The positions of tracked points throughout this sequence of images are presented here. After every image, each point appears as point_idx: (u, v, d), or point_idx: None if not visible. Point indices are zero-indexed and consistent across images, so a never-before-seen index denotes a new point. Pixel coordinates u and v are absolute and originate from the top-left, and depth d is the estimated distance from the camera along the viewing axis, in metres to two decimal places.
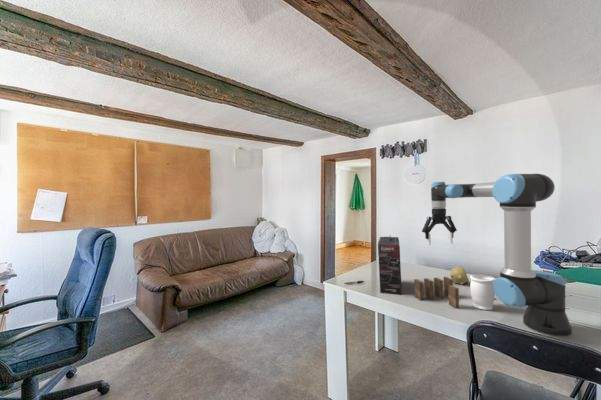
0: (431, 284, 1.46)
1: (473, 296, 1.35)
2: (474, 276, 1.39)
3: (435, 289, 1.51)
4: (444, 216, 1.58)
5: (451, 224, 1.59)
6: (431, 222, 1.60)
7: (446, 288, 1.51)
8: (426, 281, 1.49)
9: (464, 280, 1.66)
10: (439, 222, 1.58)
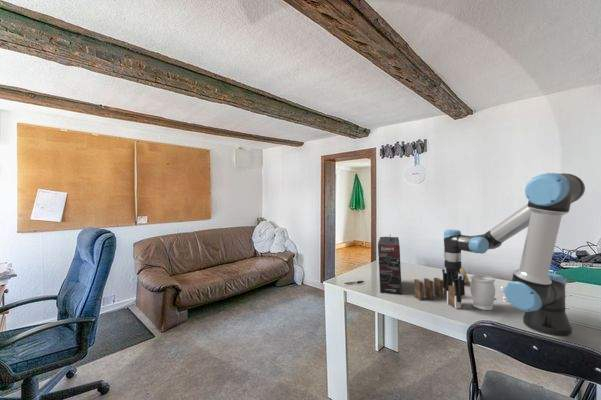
0: (431, 284, 1.46)
1: (473, 296, 1.35)
2: (474, 276, 1.39)
3: (435, 289, 1.51)
4: (455, 271, 1.33)
5: None
6: None
7: None
8: (426, 281, 1.49)
9: (464, 280, 1.66)
10: (450, 276, 1.37)
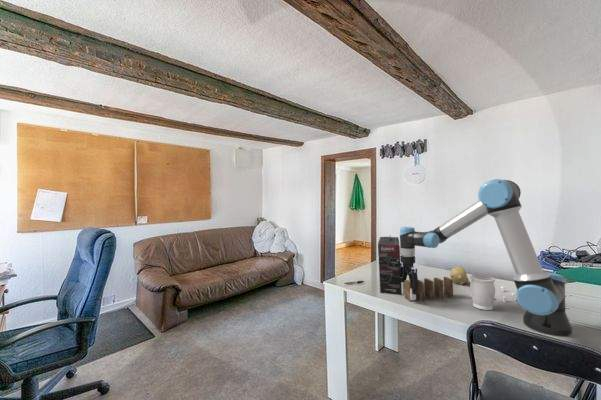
0: (431, 284, 1.46)
1: (473, 296, 1.35)
2: (474, 276, 1.39)
3: (435, 289, 1.51)
4: (409, 265, 1.44)
5: None
6: None
7: (446, 288, 1.51)
8: (426, 281, 1.49)
9: (464, 280, 1.66)
10: (405, 270, 1.47)
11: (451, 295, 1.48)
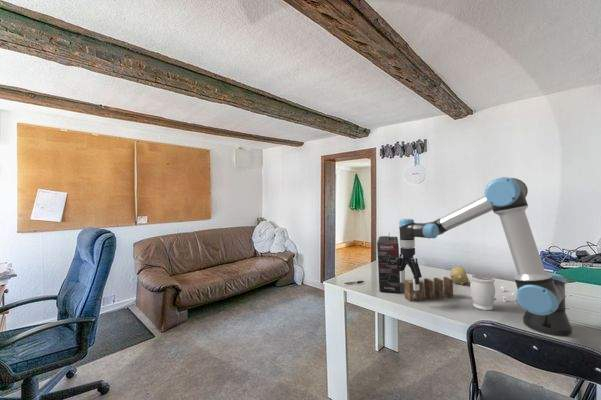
0: (431, 284, 1.46)
1: (473, 296, 1.35)
2: (474, 276, 1.39)
3: (435, 289, 1.51)
4: (408, 257, 1.44)
5: (414, 268, 1.40)
6: None
7: (446, 288, 1.51)
8: (426, 281, 1.49)
9: (464, 280, 1.66)
10: (406, 262, 1.47)
11: (451, 295, 1.48)
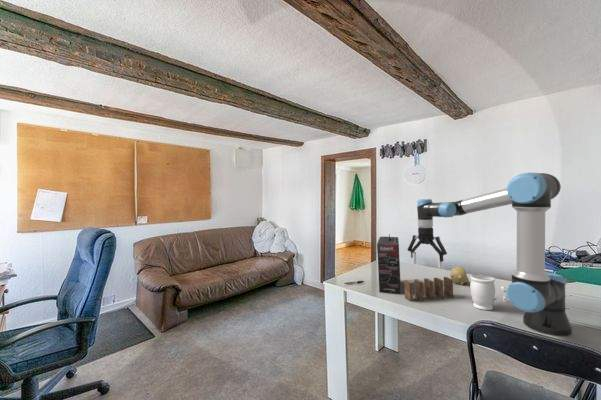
0: (431, 284, 1.46)
1: (473, 296, 1.35)
2: (474, 276, 1.39)
3: (435, 289, 1.51)
4: (430, 236, 1.45)
5: (439, 246, 1.42)
6: None
7: (446, 288, 1.51)
8: (426, 281, 1.49)
9: (464, 280, 1.66)
10: (424, 242, 1.48)
11: (451, 295, 1.48)
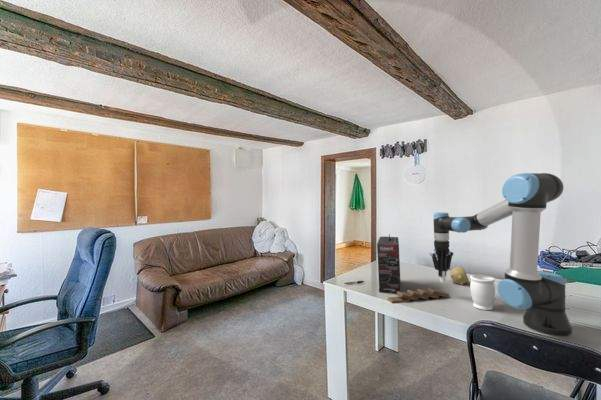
0: (415, 294, 1.45)
1: (473, 296, 1.35)
2: (474, 276, 1.39)
3: None
4: (448, 249, 1.49)
5: (448, 260, 1.50)
6: (437, 257, 1.51)
7: None
8: None
9: (464, 280, 1.66)
10: None
11: (446, 295, 1.48)
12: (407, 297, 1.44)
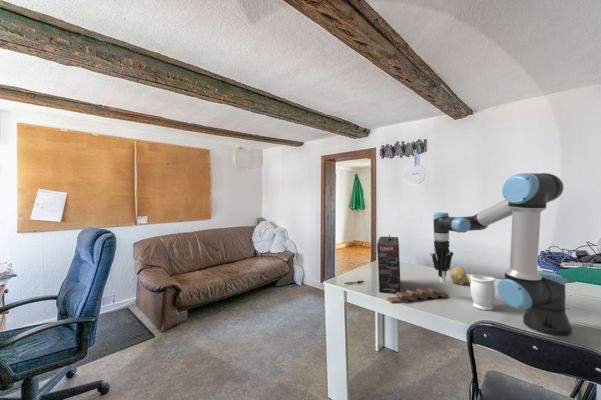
0: (414, 295, 1.45)
1: (473, 296, 1.35)
2: (474, 276, 1.39)
3: None
4: (448, 249, 1.49)
5: (448, 260, 1.50)
6: (437, 257, 1.51)
7: None
8: (409, 294, 1.47)
9: (464, 280, 1.66)
10: None
11: (446, 295, 1.48)
12: (407, 298, 1.43)
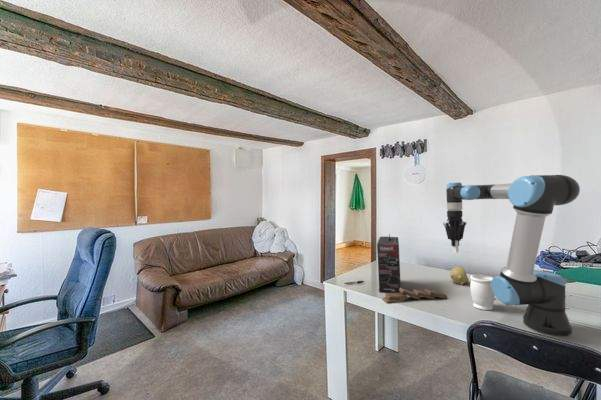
0: (405, 293, 1.46)
1: (473, 296, 1.35)
2: (474, 276, 1.39)
3: None
4: (461, 218, 1.50)
5: (461, 230, 1.51)
6: None
7: None
8: None
9: (464, 280, 1.66)
10: None
11: (444, 296, 1.47)
12: (395, 298, 1.44)
